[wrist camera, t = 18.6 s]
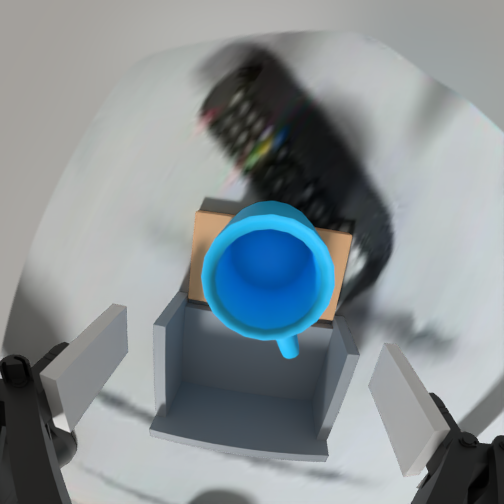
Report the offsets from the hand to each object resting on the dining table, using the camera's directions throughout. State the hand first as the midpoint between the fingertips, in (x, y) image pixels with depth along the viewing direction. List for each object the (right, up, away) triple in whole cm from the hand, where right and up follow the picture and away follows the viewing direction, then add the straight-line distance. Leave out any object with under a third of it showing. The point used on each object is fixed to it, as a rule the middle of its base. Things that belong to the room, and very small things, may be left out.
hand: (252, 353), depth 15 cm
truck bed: (0, -6, +16) cm, 17 cm away
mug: (+2, +3, +13) cm, 13 cm away
